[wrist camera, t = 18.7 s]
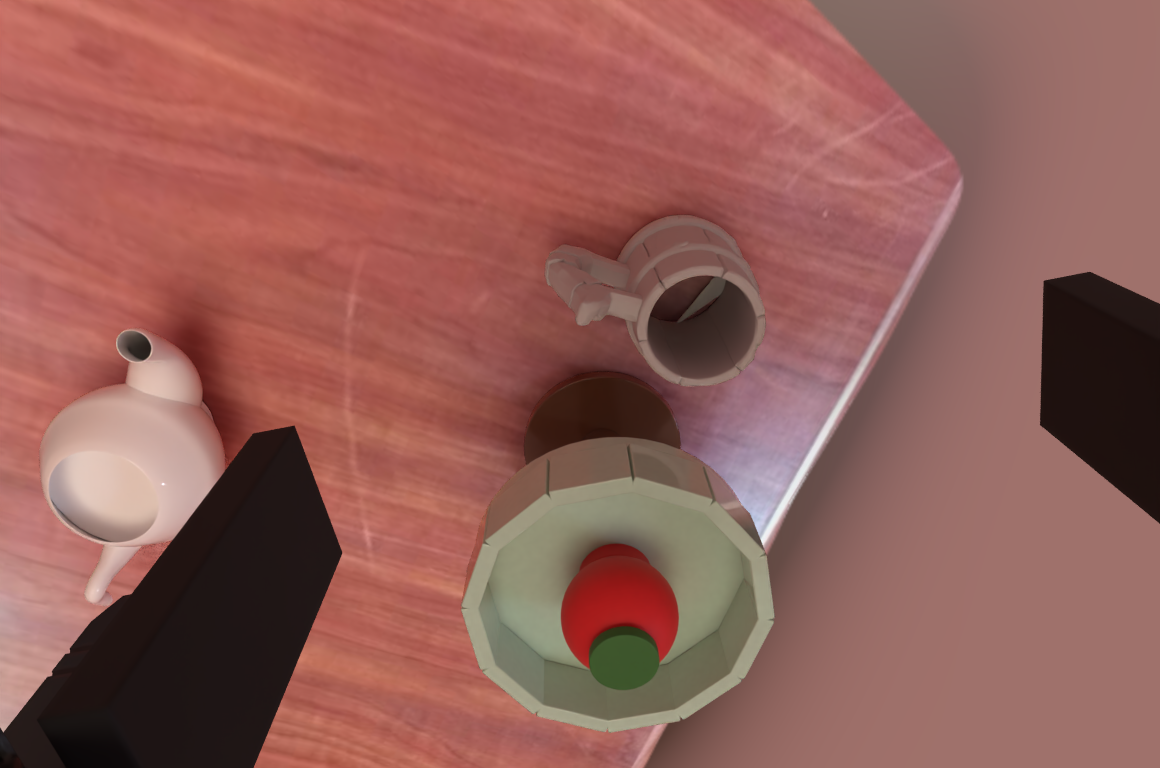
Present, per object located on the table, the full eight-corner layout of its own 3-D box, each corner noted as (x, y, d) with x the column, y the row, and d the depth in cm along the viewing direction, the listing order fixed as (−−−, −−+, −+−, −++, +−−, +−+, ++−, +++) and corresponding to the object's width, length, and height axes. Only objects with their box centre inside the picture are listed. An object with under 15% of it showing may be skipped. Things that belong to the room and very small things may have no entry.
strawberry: (660, 517, 40) (677, 601, 34) (677, 607, 42) (696, 700, 36) (550, 538, 40) (548, 624, 34) (572, 626, 42) (574, 721, 36)
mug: (717, 346, 51) (760, 434, 40) (531, 302, 50) (522, 380, 39) (758, 227, 48) (816, 286, 37) (561, 177, 47) (561, 223, 36)
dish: (693, 320, 51) (753, 453, 35) (722, 513, 56) (786, 703, 40) (470, 364, 51) (429, 514, 36) (520, 549, 57) (505, 750, 41)
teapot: (76, 524, 55) (-12, 615, 47) (127, 250, 48) (34, 297, 40) (220, 566, 57) (160, 662, 48) (290, 306, 50) (234, 364, 41)
